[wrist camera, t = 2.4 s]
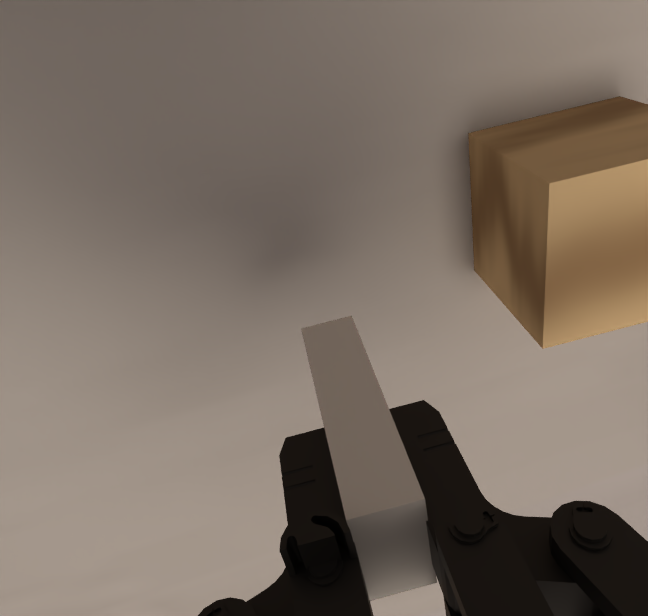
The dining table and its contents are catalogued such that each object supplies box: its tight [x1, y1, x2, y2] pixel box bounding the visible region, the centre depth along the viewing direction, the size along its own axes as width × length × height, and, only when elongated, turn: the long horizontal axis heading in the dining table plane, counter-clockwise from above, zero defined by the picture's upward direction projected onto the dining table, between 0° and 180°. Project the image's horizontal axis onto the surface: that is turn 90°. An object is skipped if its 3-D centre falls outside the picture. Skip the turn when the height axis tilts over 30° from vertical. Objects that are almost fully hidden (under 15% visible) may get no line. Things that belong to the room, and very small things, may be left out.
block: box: [468, 96, 648, 349], centre depth 19 cm, size 6×6×6 cm
